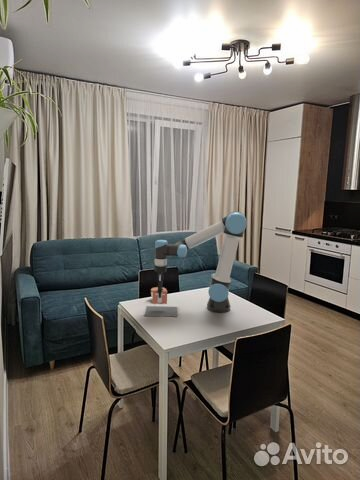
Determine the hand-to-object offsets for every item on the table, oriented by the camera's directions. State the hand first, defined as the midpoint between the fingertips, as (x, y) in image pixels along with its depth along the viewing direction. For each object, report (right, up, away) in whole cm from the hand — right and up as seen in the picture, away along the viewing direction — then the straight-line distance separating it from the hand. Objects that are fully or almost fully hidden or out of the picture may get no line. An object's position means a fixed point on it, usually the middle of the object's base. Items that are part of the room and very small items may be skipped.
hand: (159, 301), depth 204 cm
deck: (0, -1, 0) cm, 1 cm away
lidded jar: (-2, -3, +22) cm, 22 cm away
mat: (+1, -7, 0) cm, 7 cm away
